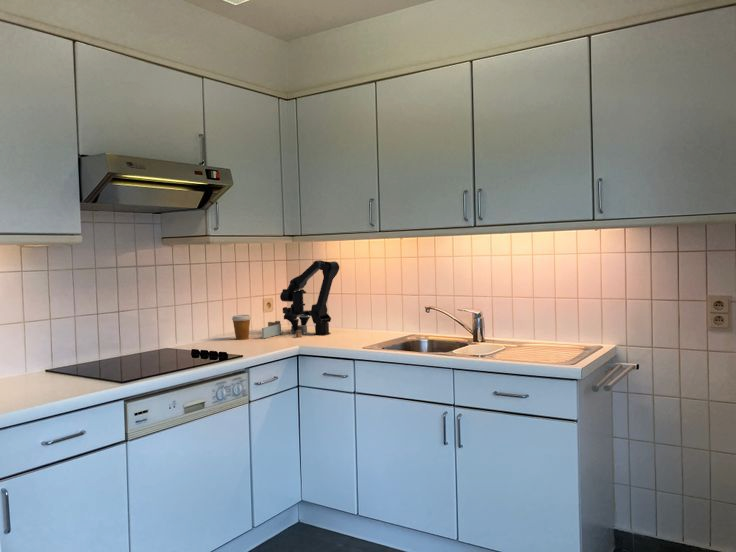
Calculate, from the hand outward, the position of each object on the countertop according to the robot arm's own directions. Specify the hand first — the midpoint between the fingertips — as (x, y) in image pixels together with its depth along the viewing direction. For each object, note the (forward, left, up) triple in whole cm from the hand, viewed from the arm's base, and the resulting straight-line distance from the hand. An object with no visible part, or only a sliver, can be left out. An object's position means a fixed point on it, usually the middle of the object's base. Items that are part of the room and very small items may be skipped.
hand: (299, 330), depth 341 cm
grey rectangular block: (0, 0, -1) cm, 1 cm away
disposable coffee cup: (+16, +27, -1) cm, 31 cm away
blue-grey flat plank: (+6, +16, -1) cm, 17 cm away
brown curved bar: (+3, +9, -1) cm, 10 cm away
